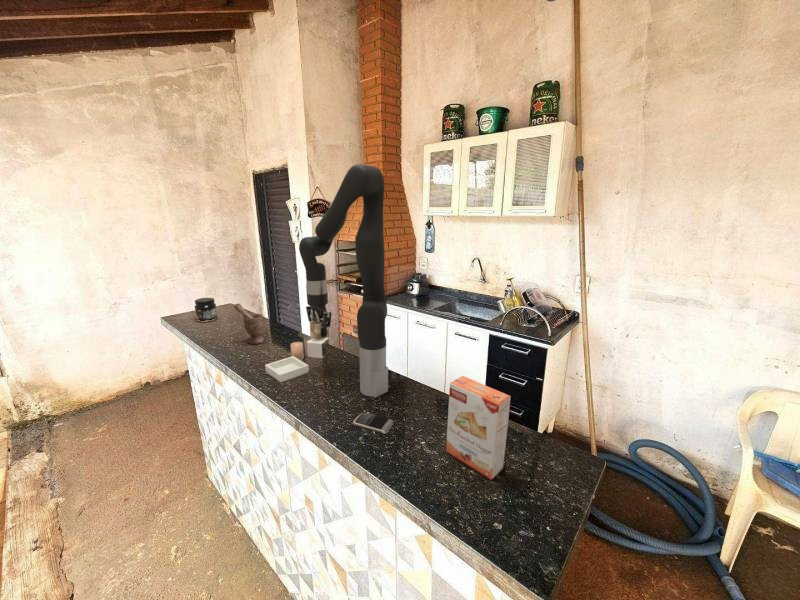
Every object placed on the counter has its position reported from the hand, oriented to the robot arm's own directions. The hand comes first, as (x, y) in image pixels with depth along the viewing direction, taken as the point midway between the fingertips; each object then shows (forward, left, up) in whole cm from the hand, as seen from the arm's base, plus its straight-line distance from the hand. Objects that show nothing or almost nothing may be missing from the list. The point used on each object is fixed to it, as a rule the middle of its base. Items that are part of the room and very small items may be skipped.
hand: (319, 334), depth 131 cm
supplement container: (+101, +10, -16) cm, 103 cm away
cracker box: (-69, -1, -16) cm, 71 cm away
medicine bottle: (+16, -9, -16) cm, 24 cm away
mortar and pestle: (+49, +6, -16) cm, 52 cm away
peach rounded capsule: (+18, 0, -16) cm, 24 cm away
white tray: (+10, +9, -16) cm, 21 cm away
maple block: (0, 0, -1) cm, 1 cm away
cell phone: (-39, +7, -17) cm, 43 cm away
